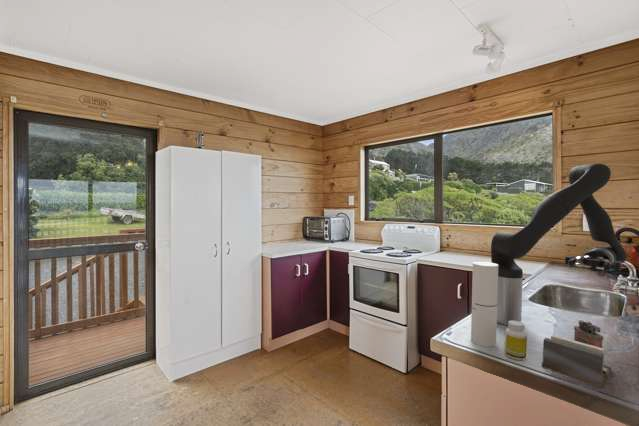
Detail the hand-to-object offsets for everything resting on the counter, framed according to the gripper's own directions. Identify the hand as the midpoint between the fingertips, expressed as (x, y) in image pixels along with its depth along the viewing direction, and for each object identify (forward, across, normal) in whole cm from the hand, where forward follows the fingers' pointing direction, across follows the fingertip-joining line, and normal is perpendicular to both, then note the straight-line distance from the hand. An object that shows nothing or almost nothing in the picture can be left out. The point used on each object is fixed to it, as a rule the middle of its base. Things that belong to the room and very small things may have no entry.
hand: (587, 265), depth 103 cm
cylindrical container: (+28, -20, +24) cm, 42 cm away
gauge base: (+26, +3, +24) cm, 35 cm away
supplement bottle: (+31, -10, +24) cm, 40 cm away
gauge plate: (+26, +3, +23) cm, 35 cm away
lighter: (+15, +3, +24) cm, 29 cm away
